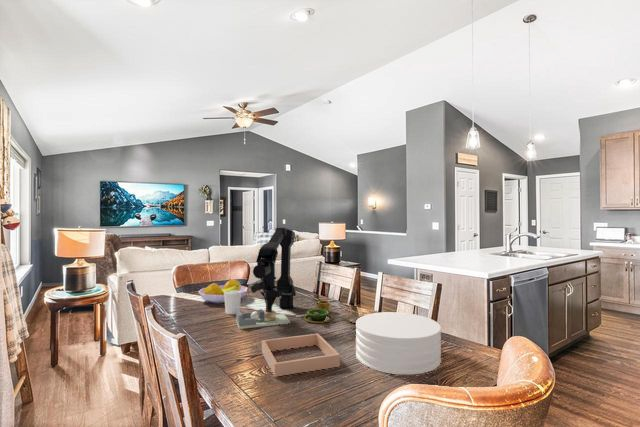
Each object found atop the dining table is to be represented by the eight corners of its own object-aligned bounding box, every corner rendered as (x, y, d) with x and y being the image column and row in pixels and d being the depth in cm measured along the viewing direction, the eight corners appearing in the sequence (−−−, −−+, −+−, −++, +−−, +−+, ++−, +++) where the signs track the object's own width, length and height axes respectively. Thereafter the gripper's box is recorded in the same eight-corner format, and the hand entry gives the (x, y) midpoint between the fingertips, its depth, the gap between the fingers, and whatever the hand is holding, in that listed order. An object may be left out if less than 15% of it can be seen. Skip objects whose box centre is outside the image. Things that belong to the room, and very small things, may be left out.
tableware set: (292, 317, 169) (292, 304, 168) (338, 308, 185) (338, 295, 185) (351, 343, 136) (351, 326, 136) (400, 328, 152) (400, 314, 152)
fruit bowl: (195, 297, 206) (195, 278, 206) (242, 293, 218) (242, 274, 217) (201, 309, 181) (201, 287, 181) (254, 303, 192) (254, 282, 192)
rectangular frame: (318, 344, 133) (318, 333, 133) (339, 367, 114) (339, 354, 114) (261, 351, 126) (261, 340, 126) (274, 377, 107) (274, 364, 107)
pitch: (283, 315, 169) (283, 304, 169) (290, 323, 158) (289, 310, 158) (235, 320, 162) (235, 308, 162) (239, 329, 151) (239, 315, 151)
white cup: (243, 310, 179) (242, 290, 179) (237, 315, 171) (237, 294, 171) (227, 310, 180) (227, 290, 180) (221, 314, 172) (221, 293, 172)
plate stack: (426, 342, 136) (426, 311, 136) (454, 376, 108) (454, 338, 108) (352, 342, 136) (352, 312, 136) (360, 376, 108) (360, 338, 108)
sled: (272, 316, 165) (272, 298, 165) (275, 319, 159) (275, 301, 159) (258, 317, 163) (258, 299, 162) (261, 321, 157) (261, 302, 157)
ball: (260, 312, 162) (252, 309, 161) (262, 314, 158) (253, 311, 157) (256, 320, 161) (248, 317, 160) (258, 323, 157) (249, 320, 156)
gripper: (247, 272, 167) (247, 305, 167) (253, 279, 149) (254, 316, 149) (270, 270, 171) (271, 303, 171) (280, 277, 153) (280, 314, 153)
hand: (268, 309), depth 161 cm, fingers closed on sled, 3 cm apart
